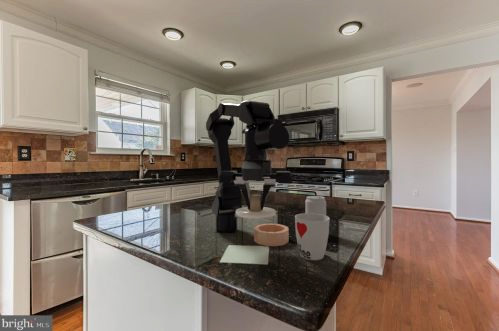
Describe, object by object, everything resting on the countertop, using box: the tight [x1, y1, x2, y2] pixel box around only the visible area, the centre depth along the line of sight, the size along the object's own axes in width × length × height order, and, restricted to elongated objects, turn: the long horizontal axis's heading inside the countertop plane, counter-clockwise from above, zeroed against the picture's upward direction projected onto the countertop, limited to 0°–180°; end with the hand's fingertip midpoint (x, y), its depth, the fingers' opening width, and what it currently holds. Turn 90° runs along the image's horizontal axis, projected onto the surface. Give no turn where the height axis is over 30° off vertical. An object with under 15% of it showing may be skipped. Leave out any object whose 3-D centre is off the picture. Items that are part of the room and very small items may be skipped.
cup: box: [294, 212, 331, 261], centre depth 58 cm, size 8×8×10 cm
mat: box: [219, 244, 270, 265], centre depth 60 cm, size 11×11×1 cm
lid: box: [236, 194, 276, 220], centre depth 63 cm, size 10×10×5 cm
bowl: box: [253, 223, 290, 247], centre depth 70 cm, size 10×10×4 cm
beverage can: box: [304, 195, 327, 216], centre depth 77 cm, size 6×6×12 cm
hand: (255, 209), depth 63 cm, fingers closed on lid, 3 cm apart
